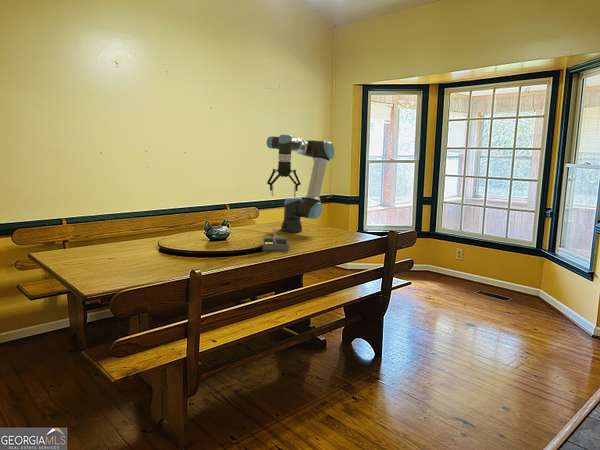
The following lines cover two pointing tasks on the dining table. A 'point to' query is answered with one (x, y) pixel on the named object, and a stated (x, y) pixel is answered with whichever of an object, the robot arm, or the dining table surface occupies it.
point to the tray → (276, 245)
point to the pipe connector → (274, 237)
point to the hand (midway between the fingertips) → (283, 196)
